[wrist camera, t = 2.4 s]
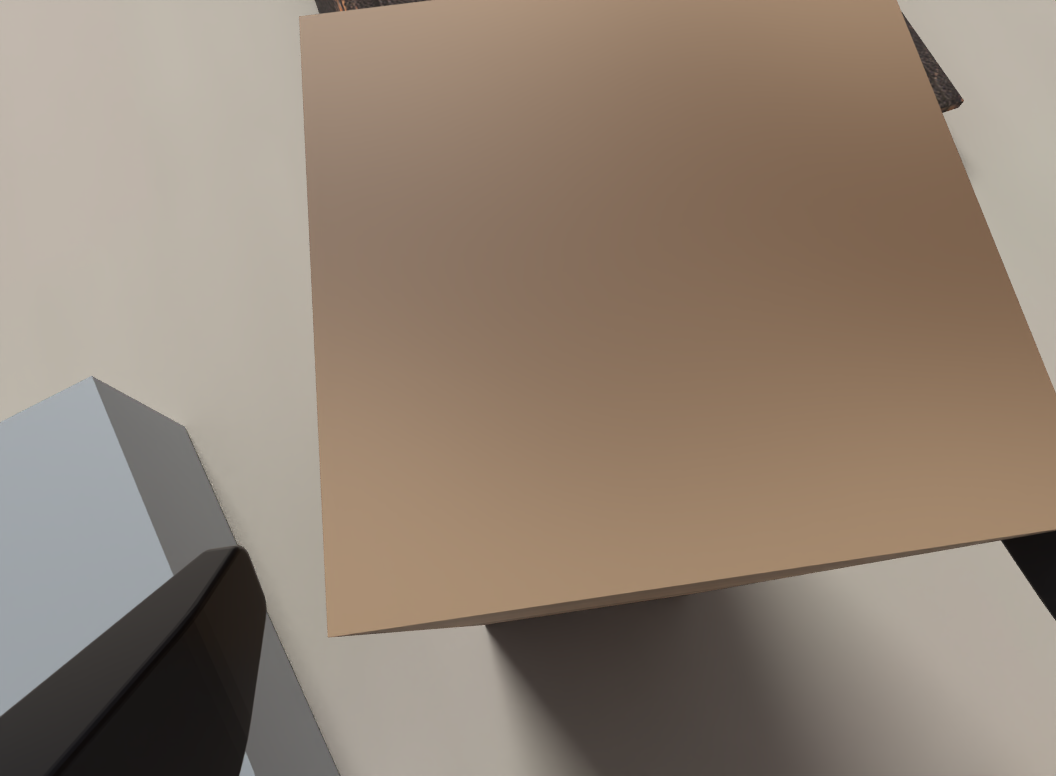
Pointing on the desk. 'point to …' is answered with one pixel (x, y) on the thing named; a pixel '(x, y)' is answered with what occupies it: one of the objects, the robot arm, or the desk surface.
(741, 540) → the walnut post
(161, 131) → the desk surface
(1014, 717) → the desk surface
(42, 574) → the slate plinth
